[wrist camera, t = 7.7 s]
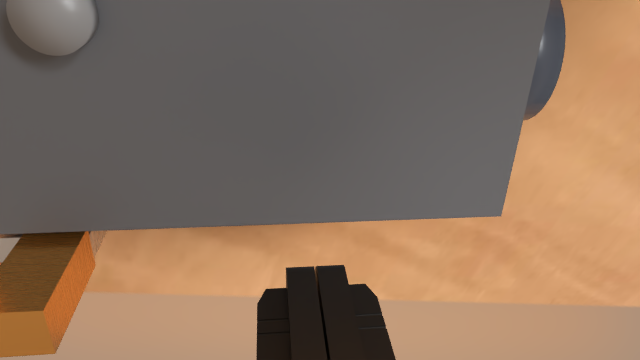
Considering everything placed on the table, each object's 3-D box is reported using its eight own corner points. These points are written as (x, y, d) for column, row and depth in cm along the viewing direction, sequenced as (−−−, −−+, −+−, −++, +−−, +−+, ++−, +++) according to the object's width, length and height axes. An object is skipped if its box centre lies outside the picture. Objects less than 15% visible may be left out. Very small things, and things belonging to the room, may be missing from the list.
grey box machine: (489, -87, 23) (658, -92, 13) (451, 146, 28) (553, 262, 19) (-223, -116, 19) (-680, -151, 10) (-115, 157, 25) (-346, 306, 15)
